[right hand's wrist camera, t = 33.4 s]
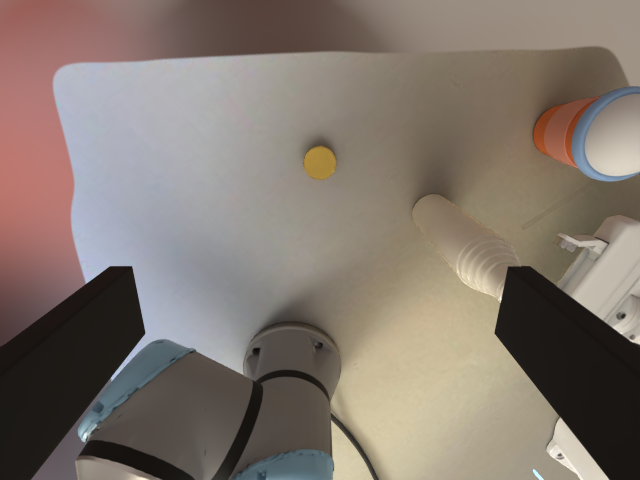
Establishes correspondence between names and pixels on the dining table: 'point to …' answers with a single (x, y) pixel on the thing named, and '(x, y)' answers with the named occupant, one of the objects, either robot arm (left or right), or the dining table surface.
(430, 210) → the bottle
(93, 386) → the right robot arm
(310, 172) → the cap
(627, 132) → the cup with straw
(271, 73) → the dining table surface
